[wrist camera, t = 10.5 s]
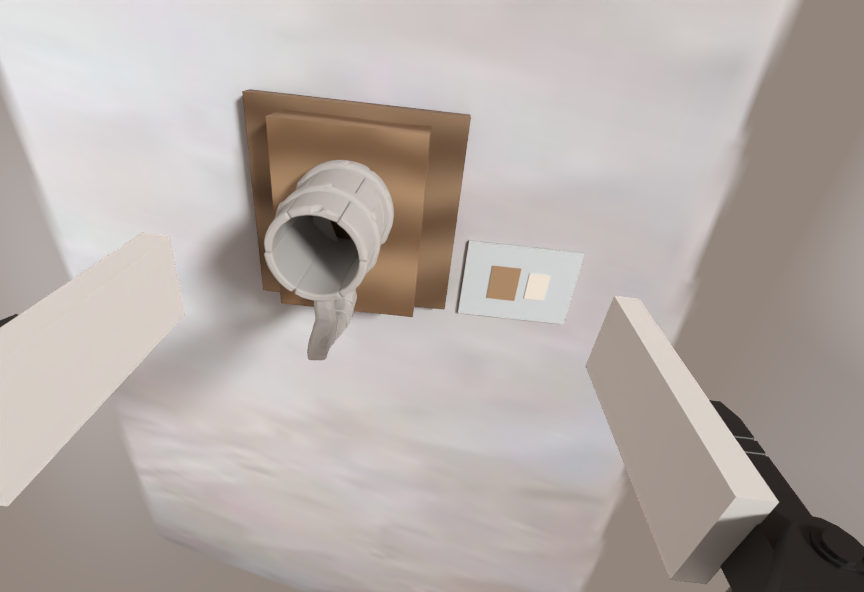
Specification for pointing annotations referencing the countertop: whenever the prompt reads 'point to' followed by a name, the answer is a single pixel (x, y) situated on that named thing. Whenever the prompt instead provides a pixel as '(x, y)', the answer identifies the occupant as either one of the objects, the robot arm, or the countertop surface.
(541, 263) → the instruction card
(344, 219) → the mug
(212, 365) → the countertop surface
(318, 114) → the plinth
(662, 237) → the countertop surface
